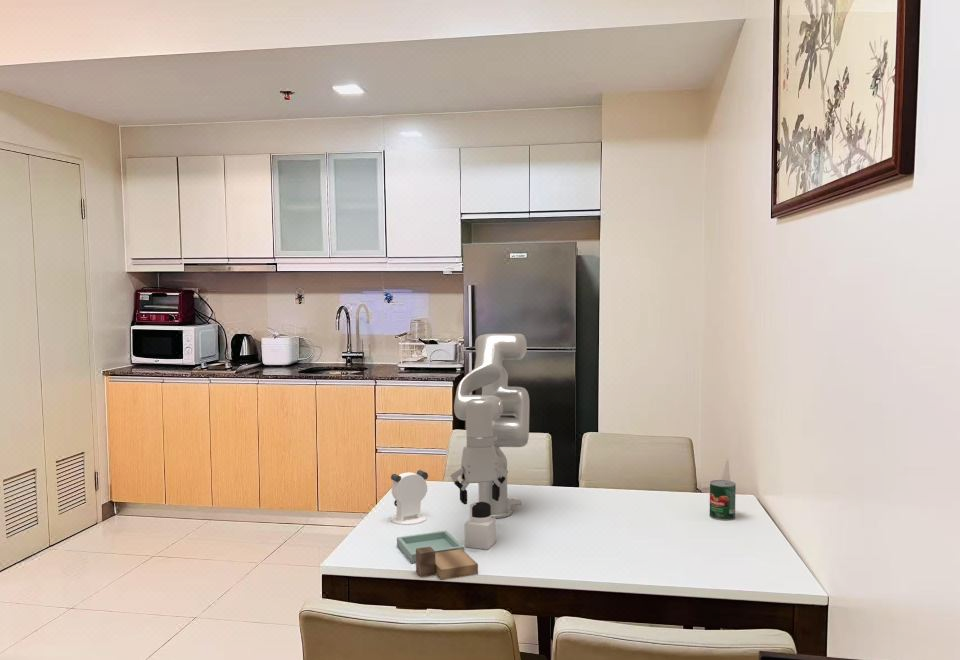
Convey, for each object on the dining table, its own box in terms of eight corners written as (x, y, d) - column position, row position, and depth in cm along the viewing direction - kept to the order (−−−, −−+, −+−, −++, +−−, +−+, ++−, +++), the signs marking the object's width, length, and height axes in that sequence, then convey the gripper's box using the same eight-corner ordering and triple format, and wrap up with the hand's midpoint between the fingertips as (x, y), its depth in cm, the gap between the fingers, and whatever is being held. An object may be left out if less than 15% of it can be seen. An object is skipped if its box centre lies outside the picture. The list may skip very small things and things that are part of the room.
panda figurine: (417, 511, 239) (417, 466, 238) (434, 520, 229) (434, 473, 229) (385, 517, 232) (384, 472, 232) (401, 527, 223) (400, 479, 222)
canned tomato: (708, 519, 228) (708, 484, 228) (710, 512, 236) (710, 478, 235) (734, 521, 225) (735, 487, 225) (735, 514, 233) (736, 481, 232)
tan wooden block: (462, 559, 196) (461, 548, 196) (478, 575, 185) (477, 564, 185) (427, 565, 192) (426, 554, 192) (441, 581, 181) (440, 569, 181)
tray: (446, 538, 212) (446, 530, 212) (464, 555, 198) (464, 546, 198) (396, 545, 206) (396, 537, 206) (411, 563, 192) (411, 554, 192)
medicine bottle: (496, 541, 209) (495, 501, 208) (488, 550, 202) (488, 508, 202) (473, 539, 211) (472, 499, 211) (464, 547, 204) (464, 505, 204)
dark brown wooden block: (430, 569, 188) (430, 546, 188) (435, 574, 185) (435, 551, 184) (416, 571, 187) (415, 548, 187) (420, 576, 183) (420, 553, 183)
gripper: (502, 437, 212) (502, 495, 212) (446, 442, 205) (447, 501, 206) (512, 442, 205) (512, 501, 205) (455, 446, 198) (456, 508, 199)
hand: (479, 501), depth 205 cm, fingers open, 9 cm apart
